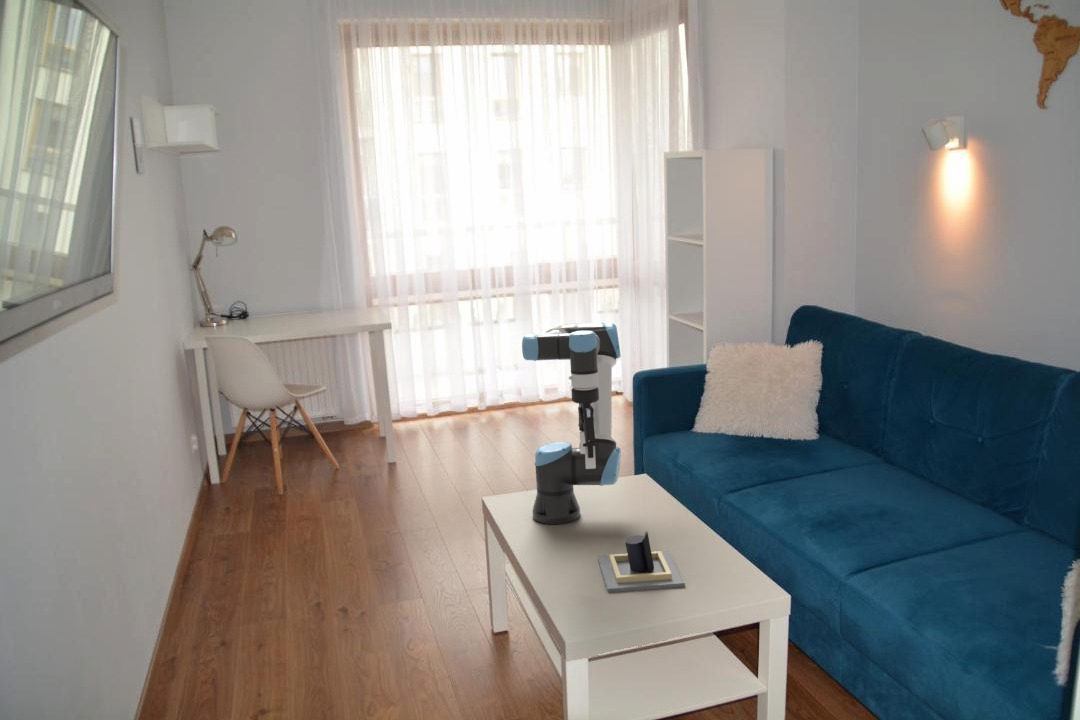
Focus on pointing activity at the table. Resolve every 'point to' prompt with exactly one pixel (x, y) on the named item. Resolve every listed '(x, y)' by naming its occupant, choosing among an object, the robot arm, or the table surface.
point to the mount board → (640, 573)
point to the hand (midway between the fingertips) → (587, 460)
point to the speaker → (639, 553)
